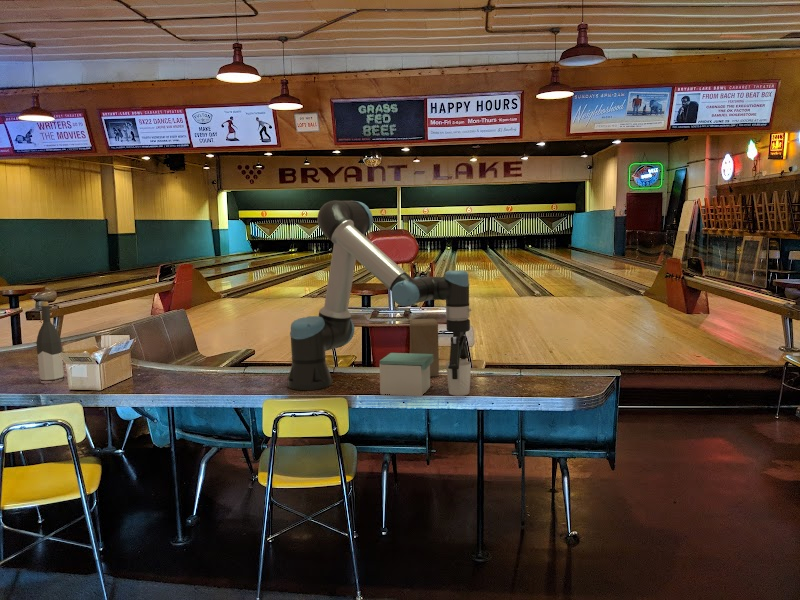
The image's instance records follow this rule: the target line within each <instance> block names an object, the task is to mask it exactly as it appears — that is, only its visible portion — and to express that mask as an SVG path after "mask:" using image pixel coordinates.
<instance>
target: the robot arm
mask: <svg viewBox="0 0 800 600" xmlns="http://www.w3.org/2000/svg"><path fill="white" fill-rule="evenodd" d="M373 221H374V219H373V213H372V211H371V210H370V208H369V206H368V205H366V203H363V202H361V201H357V200H337V199H335V200H329V201H328V202H325V203H324V204H322V206H321V207H320V209H319V211H318V213H317V224H318V227H319V229H320V231H321V233H323V235H324V236H325V237H326V238H327V239H328V240H329V241H330V242H332V243H333V248H332V252H331V254H332V255H331V261H330V267H329V273H328V279H327V286H326V293H325V300H324V306H322V307H321V308H320V309H319V311H318V315H317V316H315V315H313V316H310V315H309V316H306V317H305V316H304V317H300V318H297V319H295V320H294V321H292V322H291V324H290V333H289V334H290V335H289V336H290V349H291V350H290V351H291V367H290V372H289V374H288V379H287V387H288V388H289V389H290V390H291V389H292V390H297V391H313V390H315V391H316V390H321V389H325V388H329V387H330V386H332V375H331V373H330V370H329V367H328V364H327V361H326V357H327V356H326V352H327V351H330V350H334V349H339V348H342V347H343V346H345V345H347V344H349V343H350V342H351V340H352V339H353V337H354V335H355V324H354V323H353V319H352V314H351V312H350V311H349V304H350V298H351V292H352V286H353V279H354V274H355V268H356V263H357V262H358V263H359V264H361V265H362V266H363V267H364V268H365V269H367V271H368V272H369V273H371V274H372V275H373V277H375V278H376V279H377V280H378V281H379V282H381V284H383V285H384V286H385V287H386V288H387V289H388V290H389V291H390V292H391V297H392V300H393V302H395V304H396V305H399V306H414V305H415V304H418V303H423V302H427V301H445V318H446V319H447V320H446V324H445V325H446V331H447V332H449V333H452V336H450V349H449V362H450V364H449V366H448V369H451V389H460V368H459V361H468V359H470V355H469V352H468V350H469V349H468V344H467V343H468V341H467V332H469V331H470V329H471V320H470V319H469V318H470V315H471V314H470V312H472V308H470V281H469V279H470V278H469V273H468V271H466V270H461V269H460V270H447V271H445V272H444V276H427V275H423V276H416V277H414V278H413V277H412V276H411V275H409V274H408V273H407V272H406V271H405V270H404V269H403V268H402V267H400V266H399V265H398V264H397V263H396V262H395V261H394V260H392V259H391V258H390V256H388V255H387V254H386V253H384V252H383V251H382V250H381V248H379V247H378V246H377V245H376V244H374V243H373V242H372V241H371V240H370V239H369V238H368V237H366V235H365V234H367V233H368V231H370V230H371V228H372V227H373Z"/></svg>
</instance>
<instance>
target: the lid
mask: <svg viewBox="0 0 800 600" xmlns="http://www.w3.org/2000/svg"><path fill="white" fill-rule="evenodd" d="M432 362H433V354H414V353H410V352H409V353H407V352H405V353H404V352H390V353H388V354H387V355H386V356H384V357H383V358H382V359H380V360H379V364H400V365H422V370H425V369H426V368H427V367H428V366H429V365H430V364H431V363H432Z"/></svg>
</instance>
